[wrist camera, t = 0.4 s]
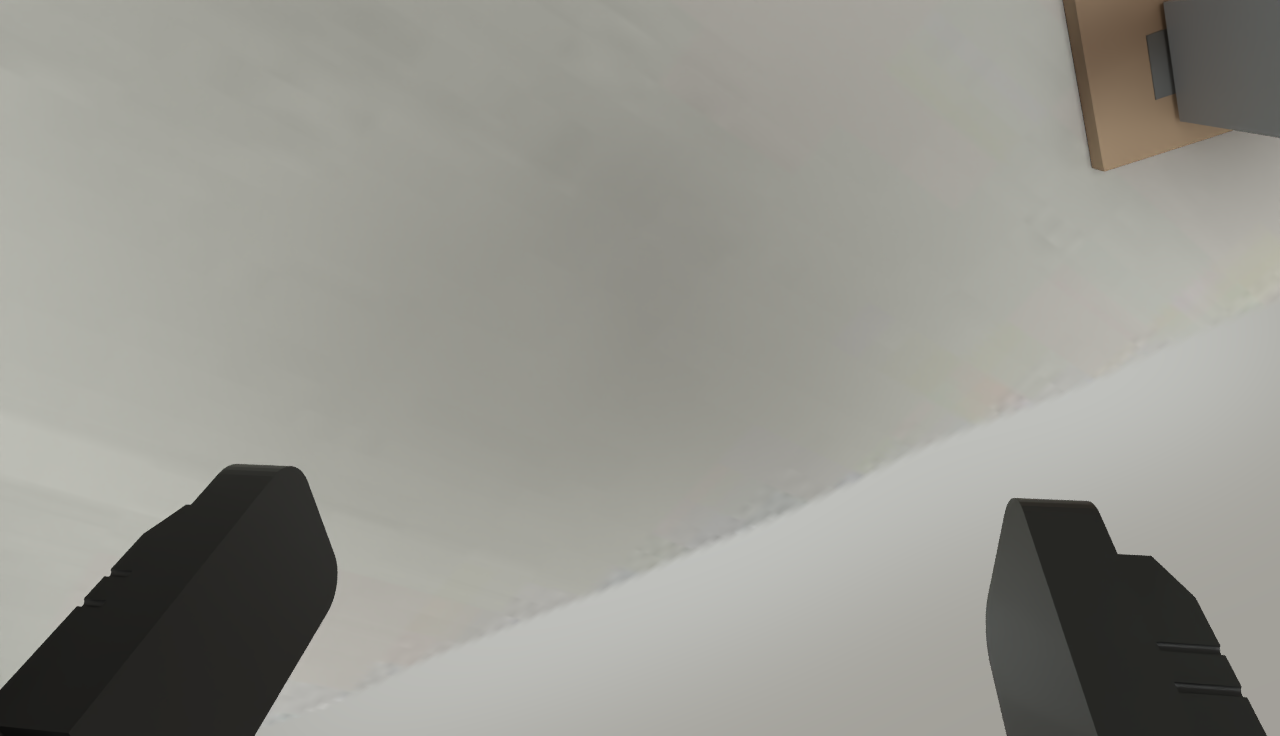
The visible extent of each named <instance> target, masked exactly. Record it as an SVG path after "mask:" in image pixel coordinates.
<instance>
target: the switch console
mask: <svg viewBox="0 0 1280 736" xmlns="http://www.w3.org/2000/svg"><path fill="white" fill-rule="evenodd" d="M1166 1H1169V0H1063V3H1064V9H1065V15H1066V20H1067V26H1068V32H1069V37H1070V43H1071V49H1072V54H1073V60H1074V66H1075V72H1076V77H1077V83H1078V89H1079V94H1080V100H1081V106H1082V111H1083V117H1084V123H1085V129H1086V134H1087V140H1088V146H1089V151H1090V157H1091V163H1092V168H1095V169H1098V170H1101V171H1108V170H1111V169H1114V168H1117V167H1120V166H1123V165H1126V164H1129V163H1133V162H1136V161H1139V160H1142V159H1145V158H1148V157H1151V156H1154V155H1158V154H1161V153H1164V152H1167V151H1170V150H1173V149H1176V148H1179V147H1183V146H1186V145H1189V144H1192V143H1195V142H1198V141H1201V140H1204V139H1208V138H1211V137H1214V136H1217V135H1220V134H1223V133H1226V132H1229V131H1233V130H1230V129H1224V128H1218V127H1212V126H1206V125H1200V124H1193V123H1187V122H1181V121H1180V119H1179V112H1178V105H1177V98H1176V90H1175V83H1174V76H1173V69H1172V62H1171V54H1170V47H1169V40H1168V33H1167V26H1166V19H1165V11H1164V4H1163V2H1166Z"/></svg>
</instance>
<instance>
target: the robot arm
mask: <svg viewBox="0 0 1280 736" xmlns="http://www.w3.org/2000/svg"><path fill="white" fill-rule="evenodd" d="M336 586H337V563H336V558H335V555H334V552H333V549H332V547H331V544H330V541H329V538H328V536H327V533H326V530H325V527H324V525H323V522H322V519H321V517H320V514H319V511H318V508H317V506H316V503H315V500H314V497H313V495H312V492H311V489H310V487H309V484H308V481H307V479H306V477H305V475H304V474H303V472H302V471H300V470H299V469H298V468H296V467H292V466H273V465H248V464H233V465H230V466H228V467H226V468H225V469H223V470H222V471H221V472H220V473H219V474H218V475H217V476H216V477H215V478H214V480H213V481H212V482H211V483H210V484H209V485H208V486H207V487H206V489H205V490H204V491H203V492H202V493H201V494H200V495H199V496H198V498H197V499H196V500H195V501H194V502H193V503H192V504H191V505H185V506H184V507H182V508H181V509H179V510H178V511H176V512H175V513H173V514H172V515H171V516H169V517H168V518H166V519H165V520H163V521H162V522H160V523H159V524H157V525H156V526H154V527H153V528H151V529H150V530H148V531H147V532H146V533H144V534H143V535H142V536H141V537H140V538H139V539H138V540H137V541H136V542H135V544H134V545H133V546H132V547H131V548H130V549H129V550H128V551H127V552H126V553H125V554H124V556H123V557H122V558H121V559H120V560H119V561H118V562H117V563H116V564H115V565H114V566H113V568H112V569H111V575H110V576H109V577H106V576H104V577H103V578H102V580H101V581H100V582H99V583H98V584H97V585H96V586H95V587H94V588H93V589H92V590H91V592H90V593H89V594H88V595H87V596H86V597H85V598H84V605H83V606H82V607H79V606H77V607H76V608H75V609H74V610H73V611H72V612H71V613H70V614H69V616H68V617H67V618H66V619H65V620H64V621H63V622H62V623H61V624H60V625H59V626H58V627H57V629H56V630H55V631H54V632H53V633H52V634H51V635H50V636H49V637H48V638H47V639H46V641H45V642H44V643H43V644H42V645H41V646H40V647H39V648H38V649H37V650H36V651H35V653H34V654H33V655H32V656H31V657H30V658H29V659H28V660H27V661H26V662H25V663H24V665H23V666H22V667H21V668H20V669H19V670H18V671H17V672H16V673H15V674H14V675H13V677H12V678H11V679H10V680H9V681H8V682H7V683H6V684H5V685H4V686H3V687H2V689H1V690H0V736H255V734H256V732H257V731H258V729H259V727H260V726H261V724H262V722H263V720H264V719H265V717H266V715H267V714H268V712H269V710H270V709H271V707H272V705H273V704H274V702H275V700H276V699H277V697H278V695H279V693H280V692H281V690H282V688H283V687H284V685H285V683H286V682H287V680H288V678H289V677H290V675H291V673H292V672H293V670H294V668H295V666H296V665H297V663H298V661H299V660H300V658H301V656H302V655H303V653H304V651H305V650H306V648H307V646H308V645H309V643H310V641H311V639H312V638H313V636H314V634H315V633H316V631H317V629H318V628H319V626H320V624H321V623H322V621H323V619H324V618H325V616H326V614H327V612H328V610H329V609H330V606H331V604H332V602H333V598H334V595H335V591H336ZM986 639H987V648H988V655H989V661H990V665H991V670H992V674H993V678H994V682H995V686H996V691H997V695H998V700H999V704H1000V708H1001V713H1002V717H1003V721H1004V726H1005V730H1006V734H1007V736H1267V735H1266V733H1265V731H1264V729H1263V727H1262V726H1261V724H1260V722H1259V720H1258V718H1257V716H1256V714H1255V712H1254V710H1253V708H1252V706H1251V704H1250V702H1249V700H1248V699H1247V698H1245V697H1243V696H1242V694H1241V685H1240V683H1239V681H1238V679H1237V677H1236V675H1235V673H1234V671H1233V670H1232V668H1231V666H1230V664H1229V662H1228V660H1227V658H1226V656H1225V655H1221V653H1220V644H1219V642H1218V640H1217V639H1216V637H1215V635H1214V633H1213V631H1212V629H1211V627H1210V625H1209V623H1208V621H1207V619H1206V618H1205V615H1204V614H1203V611H1202V610H1201V608H1200V606H1199V604H1198V602H1197V600H1196V598H1195V597H1194V596H1193V595H1192V594H1191V593H1190V592H1189V591H1188V590H1187V589H1186V588H1185V587H1184V586H1183V585H1181V584H1180V583H1179V582H1178V581H1177V580H1176V579H1175V578H1174V577H1173V576H1172V575H1171V574H1170V573H1169V572H1168V571H1167V570H1166V569H1165V568H1163V567H1162V566H1161V565H1160V564H1159V563H1158V562H1157V561H1156V560H1155V559H1154V558H1153V557H1152V556H1142V555H1122V554H1117V552H1116V550H1115V547H1114V545H1113V543H1112V540H1111V538H1110V536H1109V534H1108V531H1107V529H1106V527H1105V524H1104V522H1103V520H1102V518H1101V516H1100V513H1099V511H1098V509H1097V508H1096V507H1095V505H1094V504H1093V503H1091V502H1089V501H1073V500H1049V499H1023V498H1013V499H1011V500H1010V501H1009V503H1008V504H1007V507H1006V510H1005V514H1004V519H1003V524H1002V529H1001V534H1000V539H999V544H998V549H997V554H996V559H995V564H994V569H993V574H992V579H991V584H990V589H989V593H988V599H987V607H986Z"/></svg>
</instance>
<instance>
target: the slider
mask: <svg viewBox="0 0 1280 736" xmlns="http://www.w3.org/2000/svg"><path fill="white" fill-rule="evenodd" d="M1163 4H1164V11H1165V19H1166V26H1167V33H1168V40H1169V47H1170V54H1171V62H1172V69H1173V76H1174V83H1175V90H1176V98H1177V105H1178V112H1179V119H1180V121H1181V122H1187V123H1193V124H1200V125H1206V126H1212V127H1218V128H1224V129H1230V130H1236V131H1242V132H1248V133H1254V134H1260V135H1266V136H1273V137H1279V138H1280V0H1169V1H1166V2H1163Z"/></svg>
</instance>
